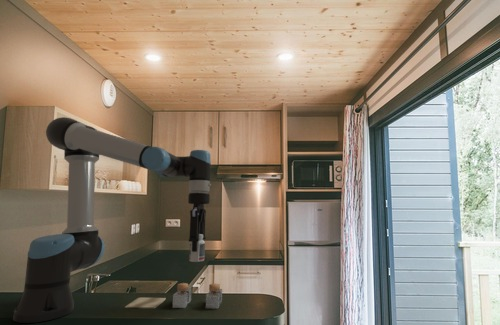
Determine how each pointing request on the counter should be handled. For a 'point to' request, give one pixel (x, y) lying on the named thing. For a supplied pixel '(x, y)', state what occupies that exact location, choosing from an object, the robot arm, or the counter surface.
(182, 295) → the set of grey blocks
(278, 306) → the counter surface
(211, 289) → the plunger
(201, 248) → the pill bottle
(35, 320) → the robot arm
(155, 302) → the coaster
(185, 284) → the plunger
